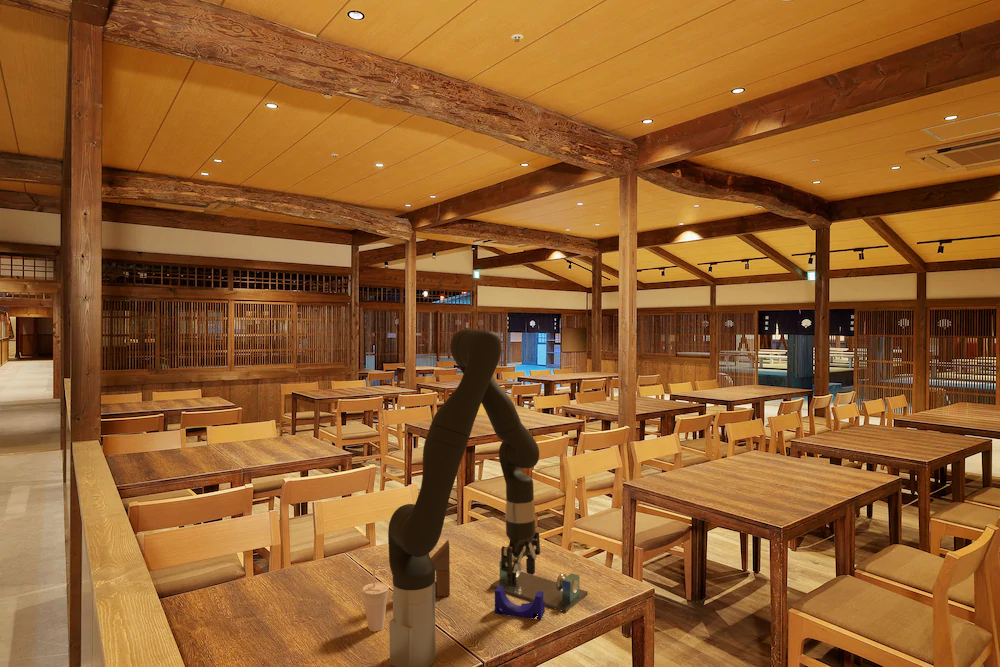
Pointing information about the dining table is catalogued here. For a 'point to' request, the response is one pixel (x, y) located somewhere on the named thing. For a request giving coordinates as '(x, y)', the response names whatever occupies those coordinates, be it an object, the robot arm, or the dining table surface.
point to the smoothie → (375, 604)
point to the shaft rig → (544, 588)
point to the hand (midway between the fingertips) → (521, 579)
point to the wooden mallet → (442, 570)
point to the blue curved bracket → (525, 610)
